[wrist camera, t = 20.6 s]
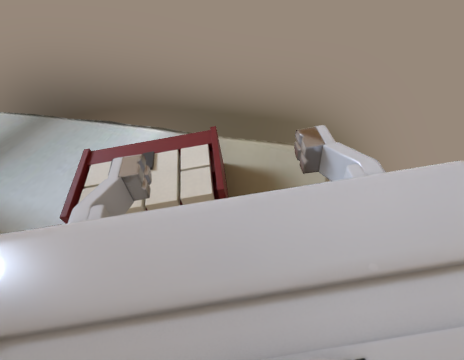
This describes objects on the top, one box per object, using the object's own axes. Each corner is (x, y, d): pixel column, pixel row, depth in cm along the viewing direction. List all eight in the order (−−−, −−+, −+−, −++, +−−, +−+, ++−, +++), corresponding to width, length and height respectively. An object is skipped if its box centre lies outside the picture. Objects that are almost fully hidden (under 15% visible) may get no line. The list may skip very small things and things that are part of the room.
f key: (183, 206, 34) (180, 198, 33) (183, 178, 37) (180, 171, 36) (214, 200, 34) (212, 193, 33) (212, 173, 37) (210, 166, 36)
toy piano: (91, 249, 38) (59, 217, 32) (107, 183, 46) (84, 149, 41) (232, 224, 38) (224, 188, 32) (223, 162, 46) (215, 126, 40)
